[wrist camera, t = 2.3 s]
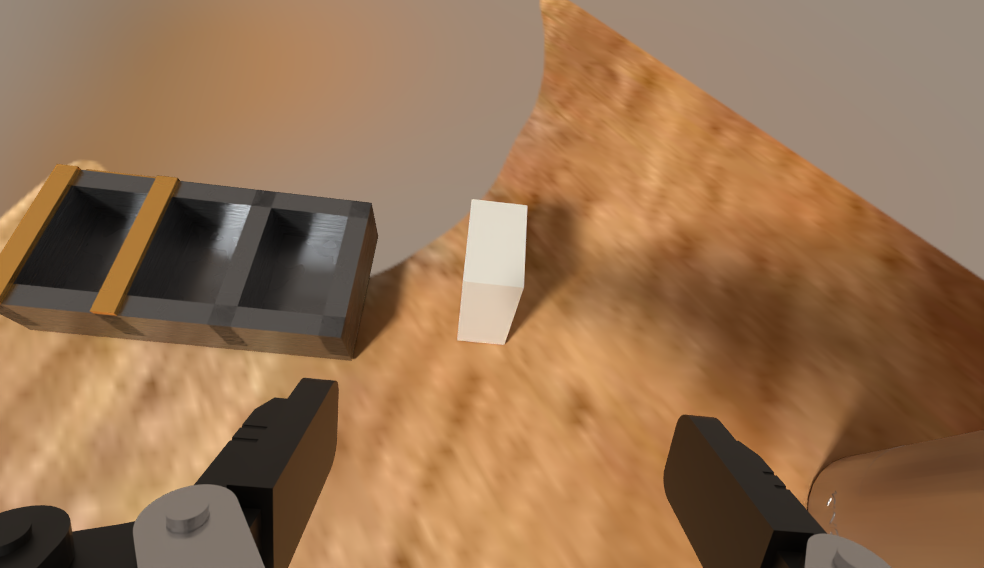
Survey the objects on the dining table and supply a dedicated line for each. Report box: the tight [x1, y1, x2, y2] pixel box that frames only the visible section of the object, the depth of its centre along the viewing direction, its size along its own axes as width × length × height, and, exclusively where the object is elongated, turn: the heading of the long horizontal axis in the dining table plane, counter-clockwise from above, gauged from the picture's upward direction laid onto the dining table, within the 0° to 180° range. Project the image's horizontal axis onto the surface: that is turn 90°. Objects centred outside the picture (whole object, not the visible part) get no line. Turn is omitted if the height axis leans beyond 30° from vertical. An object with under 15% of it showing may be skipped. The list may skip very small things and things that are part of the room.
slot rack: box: [0, 164, 378, 361], centre depth 29 cm, size 19×9×4 cm, turn 86°
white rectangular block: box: [457, 199, 527, 345], centre depth 29 cm, size 3×5×8 cm, turn 176°
